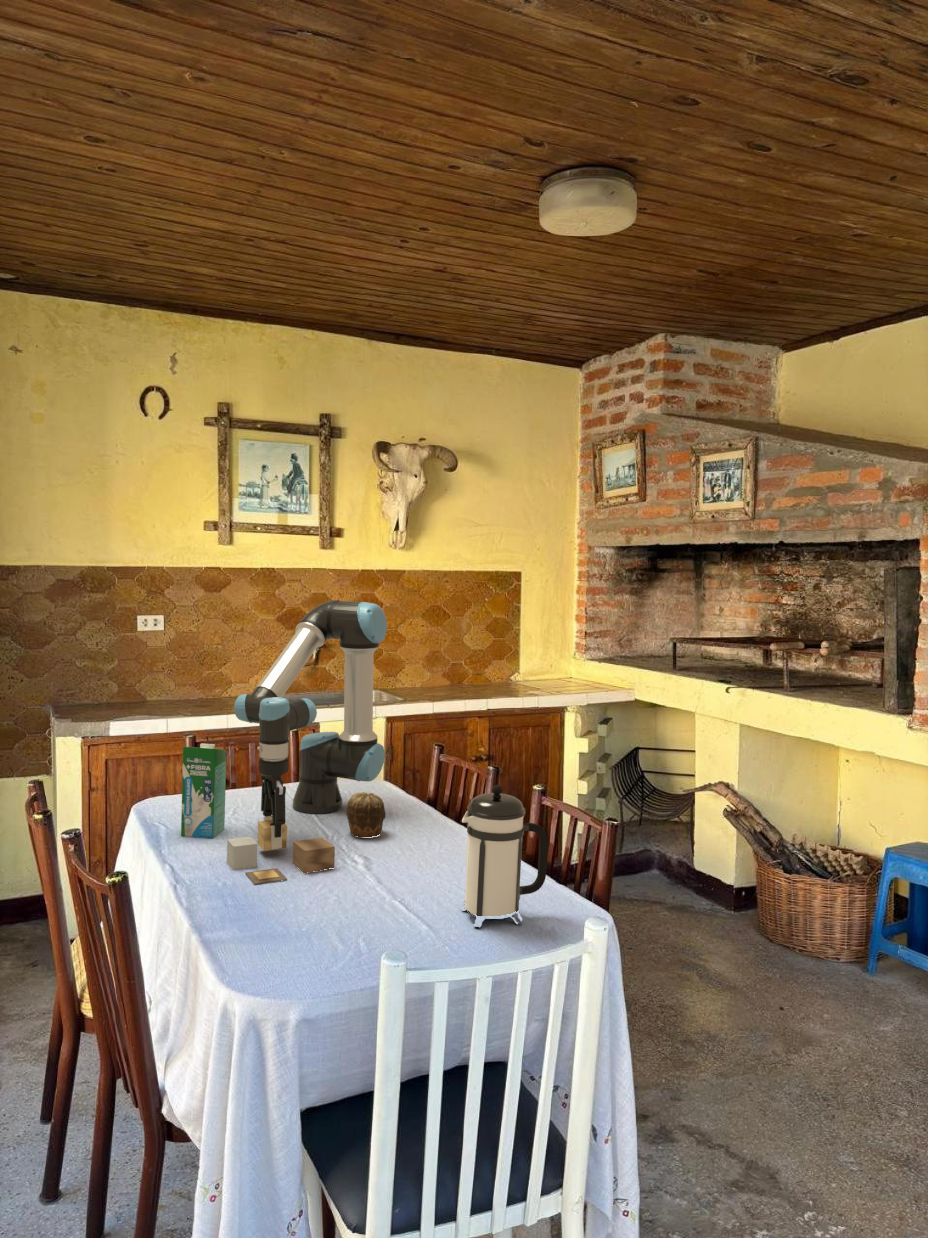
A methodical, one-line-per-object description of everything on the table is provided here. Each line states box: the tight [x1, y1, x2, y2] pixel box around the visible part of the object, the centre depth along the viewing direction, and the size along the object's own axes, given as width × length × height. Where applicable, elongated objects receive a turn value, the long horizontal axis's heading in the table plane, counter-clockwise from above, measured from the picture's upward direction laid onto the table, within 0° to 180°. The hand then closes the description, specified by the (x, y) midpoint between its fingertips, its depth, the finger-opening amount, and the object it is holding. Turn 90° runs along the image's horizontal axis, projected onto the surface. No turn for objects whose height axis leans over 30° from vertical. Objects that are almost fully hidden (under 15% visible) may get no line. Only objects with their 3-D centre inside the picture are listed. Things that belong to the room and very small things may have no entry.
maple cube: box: [257, 820, 288, 852], centre depth 239 cm, size 6×6×6 cm
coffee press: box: [461, 784, 549, 916], centre depth 203 cm, size 17×16×30 cm
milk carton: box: [180, 743, 227, 839], centre depth 253 cm, size 9×9×25 cm
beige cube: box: [226, 836, 258, 871], centre depth 230 cm, size 6×6×6 cm
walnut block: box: [291, 837, 336, 874], centre depth 231 cm, size 8×8×6 cm
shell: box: [346, 791, 386, 837], centre depth 258 cm, size 11×11×12 cm
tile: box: [245, 867, 288, 886], centre depth 222 cm, size 8×8×1 cm
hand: (272, 844), depth 240 cm, fingers closed on maple cube, 6 cm apart
